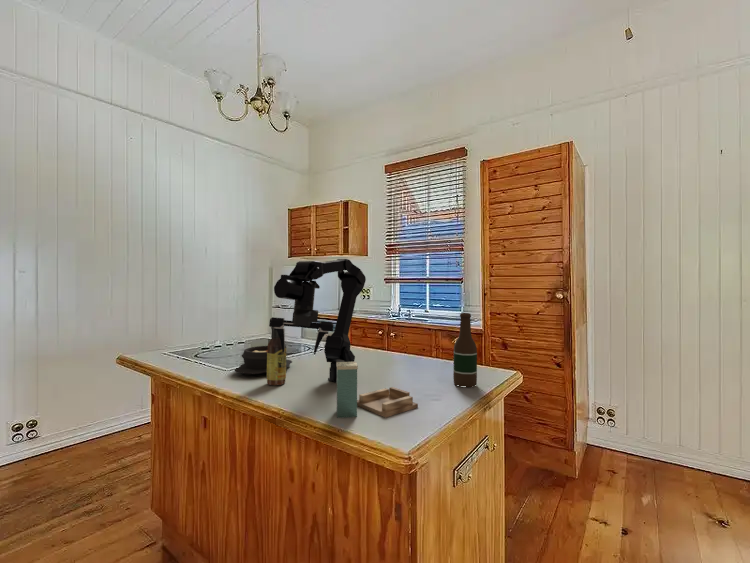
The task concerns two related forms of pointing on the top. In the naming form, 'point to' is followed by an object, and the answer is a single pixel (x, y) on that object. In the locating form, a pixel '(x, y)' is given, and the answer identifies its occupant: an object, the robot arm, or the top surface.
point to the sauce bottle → (276, 361)
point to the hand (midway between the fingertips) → (299, 353)
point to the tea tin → (346, 389)
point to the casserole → (256, 361)
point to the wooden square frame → (387, 401)
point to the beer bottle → (465, 355)
